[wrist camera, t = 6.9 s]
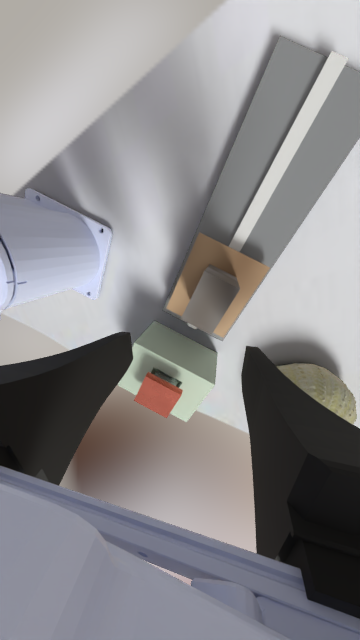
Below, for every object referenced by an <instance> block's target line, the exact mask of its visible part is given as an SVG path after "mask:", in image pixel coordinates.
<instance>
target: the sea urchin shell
mask: <svg viewBox="0 0 360 640" xmlns="http://www.w3.org/2000/svg"><path fill="white" fill-rule="evenodd" d="M276 367H277V368H278V369H279V370H280V371H281V372H282V373H283V374H284V375H285V376H286V377H288V378H289V379H290V380H291V381H292V382H293V383H294V384H296V385H297V386H298V387H299V388H300V389H302V390H303V391H304V392H306V393H307V394H308V395H309V396H311V397H312V398H313V399H315V400H316V401H318V402H319V403H320V404H322V405H323V406H325V407H326V408H328V409H329V410H331V411H332V412H334V413H335V414H337V415H338V416H340V417H341V418H343V419H345V420H346V421H348V422H349V423H351V424H354V422H355V421H356V419H357V414H356V405H355V404H356V401H355V397H354V396H353V394H352V393H351V392H350V390H349V389H348V388H347V386H346V384H344V383H343V381H341V380H340V378H338V377H336V376H335V375H334V374H332V373H331V372H330V371H328V369H326V368H323V367H320V366H317V365H315V364H302V363H301V364H296V363H293V364H289V365H281V366H276Z"/></svg>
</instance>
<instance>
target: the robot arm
mask: <svg viewBox="0 0 360 640" xmlns="http://www.w3.org/2000/svg"><path fill="white" fill-rule="evenodd" d="M39 197H40V199H39ZM102 228H103V233H102V232H101V229H102ZM111 239H112V230H111V229H110V228H109V227H107V226H105V225H103V224H101V223H99V222H97V221H95V220H93V219H91V218H89V217H87V216H85V215H83V214H81V213H79V212H77V211H75V210H73V209H71V208H69V207H67V206H65V205H63V204H61V203H59V202H57V201H55V200H53V199H51V198H49V197H47V196H45V195H43V194H41V193H39V192H37V191H35V190H33V189H30V188H26V190H25V198H21V197H16V196H11V195H7V194H1V193H0V319H1V312H2V310H3V309H7V308H10V307H13V306H17V305H20V304H23V303H27V302H30V301H33V300H37V299H40V298H43V297H47V296H50V295H53V294H56V293H60V292H63V291H66V290H70V289H73V290H75V291H77V292H79V293H81V294H83V295H85V296H86V297H88V298H90V299H92V300H95V299H97V298H98V296H99V292H100V287H101V283H102V279H103V274H104V270H105V265H106V261H107V256H108V252H109V247H110V243H111ZM89 292H90V293H91V295H90V294H89ZM132 361H133V352H132V344H131V336H130V333H128V332H119V333H115V334H113V335H110V336H107V337H105V338H102V339H100V340H97V341H95V342H92V343H89V344H87V345H84V346H81V347H78V348H76V349H73V350H70V351H67V352H63V353H60V354H56V355H53V356H49V357H44V358H40V359H36V360H31V361H26V362H21V363H16V364H10V365H3V366H0V640H360V429H359V428H358V427H356V426H354V425H353V424H351V423H349V422H348V421H346V420H345V419H343V418H341V417H340V416H338V415H337V414H335V413H334V412H332V411H331V410H329V409H328V408H326V407H325V406H323V405H322V404H320V403H319V402H318V401H316V400H315V399H313V398H312V397H311V396H309V395H308V394H307V393H306V392H304V391H303V390H302V389H300V388H299V387H298V386H297V385H296V384H294V383H293V382H292V381H291V380H290V379H289V378H288V377H286V376H285V375H284V374H283V373H282V372H281V371H280V370H279V369H278V368H277V367H276V366H275V365H274V364H273V363H272V362H271V361H270V360H269V359H268V358H267V357H266V356H265V354H264V353H263V352H262V351H261V350H260V349H259V348H258V347H250V346H246V351H245V357H244V363H243V369H242V375H241V376H242V393H243V399H244V405H245V410H246V416H247V422H248V427H249V434H250V443H251V456H252V470H253V485H254V502H255V503H254V504H255V522H256V523H255V524H256V548H257V554H256V553H253V552H250V551H247V550H244V549H241V548H238V547H236V546H233V545H230V544H227V543H224V542H221V541H218V540H215V539H212V538H209V537H206V536H204V535H201V534H198V533H195V532H192V531H189V530H186V529H183V528H180V527H177V526H175V525H172V524H169V523H166V522H163V521H160V520H157V519H154V518H151V517H148V516H145V515H142V514H139V513H136V512H133V511H131V510H128V509H125V508H122V507H119V506H116V505H113V504H110V503H108V502H105V501H102V500H99V499H96V498H93V497H90V496H87V495H84V494H81V493H78V492H76V491H73V490H70V489H67V488H64V487H61V486H59V484H60V482H61V480H62V478H63V476H64V474H65V472H66V470H67V468H68V466H69V464H70V461H71V459H72V458H73V456H74V454H75V452H76V450H77V448H78V446H79V444H80V442H81V440H82V438H83V437H84V435H85V433H86V431H87V429H88V428H89V426H90V424H91V422H92V420H93V419H94V417H95V416H96V414H97V412H98V411H99V409H100V407H101V406H102V404H103V403H104V402H105V400H106V398H107V397H108V396H109V395H110V393H111V392H112V391H113V389H114V388H115V386H116V385H117V384H118V383H119V381H120V380H121V379H122V377H123V376H124V375H125V373H126V372H127V370H128V368H129V366H130V365H131V363H132ZM144 560H145V561H147V562H150V563H152V564H155V565H157V566H160V567H162V568H165V569H167V570H170V571H172V572H174V573H177V574H180V575H182V576H184V577H187V578H189V579H192V581H191V586H190V585H188V584H187V583H185V582H183V581H181V580H179V579H177V578H175V577H173V576H171V575H170V574H168V573H166V572H164V571H162V570H160V569H159V568H157V567H155V566H153V565H151V564H149V563H147V562H145V561H144Z"/></svg>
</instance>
